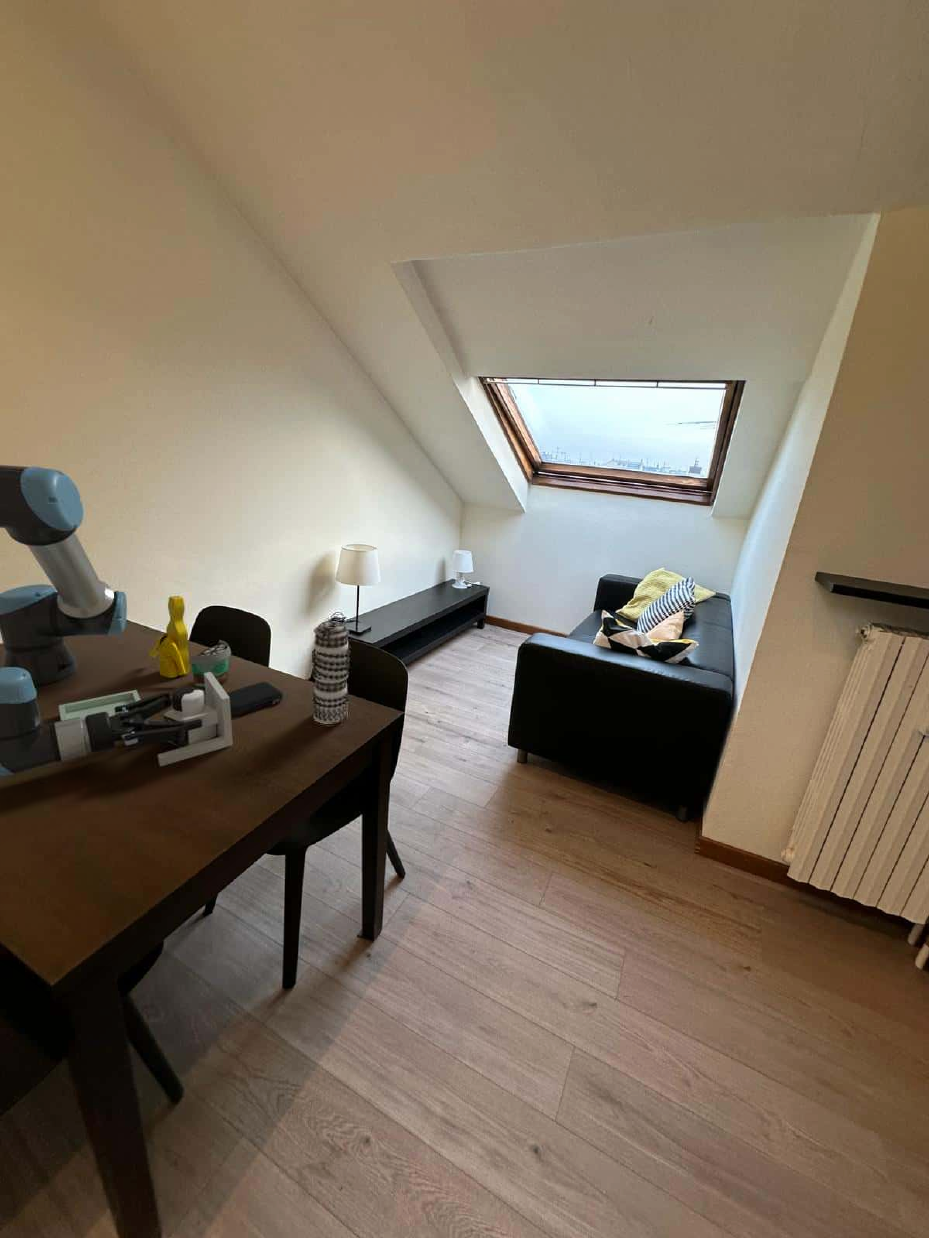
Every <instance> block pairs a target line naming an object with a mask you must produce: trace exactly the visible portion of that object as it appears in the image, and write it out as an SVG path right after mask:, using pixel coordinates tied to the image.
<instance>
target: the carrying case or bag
mask: <svg viewBox="0 0 929 1238" xmlns="http://www.w3.org/2000/svg"><path fill="white" fill-rule="evenodd" d="M226 693H227V695H228V696H229V697H230V710H231V717H238V716H241V715H245V714H247V713H250V712H254V711H256V710H259V709H262V708H264V707H266V706H270V705H271V706H273V705H275V704H276V703H278V702H279V703H280V701H281V700H282V699H283V696H284V693H283V692H282V691H281V690H279V689H278V688H276V687H275V686H273V685H272V684H270V683H269V682H266V681H261V682H257V683H253V684H251V685H247V686H244V687H241V688H238V689H234V690H232V691H229V692H226ZM258 708H259V709H258Z"/></svg>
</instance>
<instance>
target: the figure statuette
mask: <svg viewBox="0 0 929 1238" xmlns="http://www.w3.org/2000/svg"><path fill="white" fill-rule="evenodd" d="M167 608H168V614H169V617H170V619H169V622H168V623H167V626H166V630H165V632H166V633H164V634H162V635H161V636H159V637H158V638H157V642H156V644H155V646H153V648H152V650H151V651H150V653H149V654H148V655H149V657H150V658H154V659H155V658H156V657H157V656H158V670H159V675H160V676H162V677H164V678H168V679H171V678H172V679H173V678H177V677H178V676H186V675H187V674H189V672H190V670H191V669H190V668H191V663H189V658H190V655H189V651H188V650H189V649H188V640H189V633H188V630H187V628H186V624H185V622H184V615H185V612H186V611H185V610H186V609H185V601H184V598H183V597H182V596H180V595H174V596H169V597H168V602H167Z"/></svg>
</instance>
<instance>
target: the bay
mask: <svg viewBox="0 0 929 1238" xmlns="http://www.w3.org/2000/svg"><path fill="white" fill-rule="evenodd" d="M204 681H205V689H204V694H205V702H206V705H205V706H208V707H210V708H213V709H214V711H216V710H217V712H218V723H216V735H217V736H218V737H214V738H211V739H210V740H207V741H204V742H200V743H197V744H193V745H190V746H186V747H179V748H175V749H172V750H169V751H165V752H162V753H158V754H157V759H158V760H157V761H158V764H159V766H160V767H164V766H167V765H170V764H173V763H177V762H181V761H183V760H186V759H191V758H194V757H197V756H200V755H204V754H207V753H210V752H214V751H217V750H218V751H219V750H221V749H224V748H225V749H226V747H231V746H233V744H234V743H233V742H234V741H233V729H232V728H233V727H232V716H231V710H230V697H229V696H228V695H227V693H228V692H226V690H225V689H224V688H223V685H220V684H219V682H218V681H217V680H216V678H215V677H214V676H213V674H212V673H211V672H208V673H204ZM162 722H164V720H163V721H162Z"/></svg>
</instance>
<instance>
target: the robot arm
mask: <svg viewBox="0 0 929 1238" xmlns="http://www.w3.org/2000/svg"><path fill="white" fill-rule="evenodd" d="M83 519H84V505H83V502H82V501H81V495H80V491H79V489H78V488H77V486H76V484H75V482H74V481H73V480H72V478H70V476H69V475H67V474H66V473H64V472H63V471H61V470H57V469H53V468H52V469H51V468H44V467H40V466H36V465H35V466H22V465H21V466H20V465H19V466H18V465H5V464H4V465H3V464H0V528H1V529H5V531H6V533H7V534H8V535H9V537H11V538H12V540H13V541H15V542H17V543H18V544H20V545H24V546H27V548H28V549H29V551H30V552H31V554H32V555H33V556H34V558H35V560H36V561H37V563H38V565H39V566H40V567H41V569H42V570H43V572H44V574H45V575H46V577H47V578H48V579H49V581H50V583H51V584H45V583H44V584H43V583H41V584H39V583H38V584H30V585H24V586H19V587H15V588H12V589H8V590H5V591H3V592H1V593H0V636H1V641H2V645H3V649H4V654H3V658H2V663H1V667H0V778H1V777H2V778H3V777H5V776H10V775H12V776H13V775H17V774H18V773H21V772H26V771H29V770H32V769H37V768H40V767H44V766H48V765H51V764H55V763H59V762H63V761H67V760H73V759H74V758H75V759H76V758H79V757H83V756H86V755H88V752H90V751H91V753H94V754H95V753H99V752H103V751H107V750H111V749H113V748H114V747H115V743H116V742H121V741H122V742H123V741H124V746H125V748H126V749H132V748H134V747H138V746H144V745H152V744H157V743H166V742H167V741H175V740H182V739H183V738H184V737H185V736H186V735H185V732H186V731H189V730H193V729H197V728H200V727H204V726H208V725H212V724H215V723H218V712H217V710H216V711H212V712H208V713H204V714H200V715H196V716H191V717H187V718H183V722H182V721H178V722H163V721H150V720H149V721H148V720H146V719H147V718H151V717H153V716H155V715H157V714H159V713H161V712H163V711H165V710H167V709H169V708H171V707H172V709H173V705H172V695H171V694H170V692H167V691H166V692H160V693H157V694H154V695H151V696H148V697H145V698H142V699H141V700H139V701H136V702H133V703H130V704H127V705H122V706H117V707H115V708H114V709H115V715H113V716H111V717H109V715H108V713H107V712H100V713H96V714H91V715H87V717H85V719H81V718H80V717H77V718H72V719H68V720H63V721H61V720H60V721H56V722H51V723H46V724H45V723H44V724H43V722H42V717H41V711H40V708H39V701H38V696H37V695H38V692H37V689H36V688H35V686H42V685H48V684H53V683H56V682H59V681H62V680H64V679H66V678H68V677H70V676H72V675H74V674H75V673H76V672H77V671H78V664H77V660H76V657H75V656H74V655H73V654H72V651H70V650H69V647H68V646H67V644H66V643H65V640H64V638H67V637H68V638H69V637H96V636H98V637H100V636H102V637H103V636H104V637H109V636H115V635H120V634H122V633H123V632H124V631H125V629H126V623H127V616H128V615H127V612H128V611H127V610H128V603H127V602H128V601H127V595H126V593H125V592H124V591H119V590H115V591H113V588H112V587H111V586H110V585H109V584H108V583H106V582H104V581H103V580H100V578H99V576H98V574H97V572H96V570H95V569H94V567H93V565H92V563H91V561H90V559H89V557H88V555H87V553H86V551H85V548H84V547H83V545H82V543H81V541H80V539H79V537H78V535H77V534H76V532H77V530H78V528H79V527H80V526H81V525H82V523H83ZM203 692H204V693H205V690H203ZM204 702H206V699H204Z"/></svg>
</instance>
